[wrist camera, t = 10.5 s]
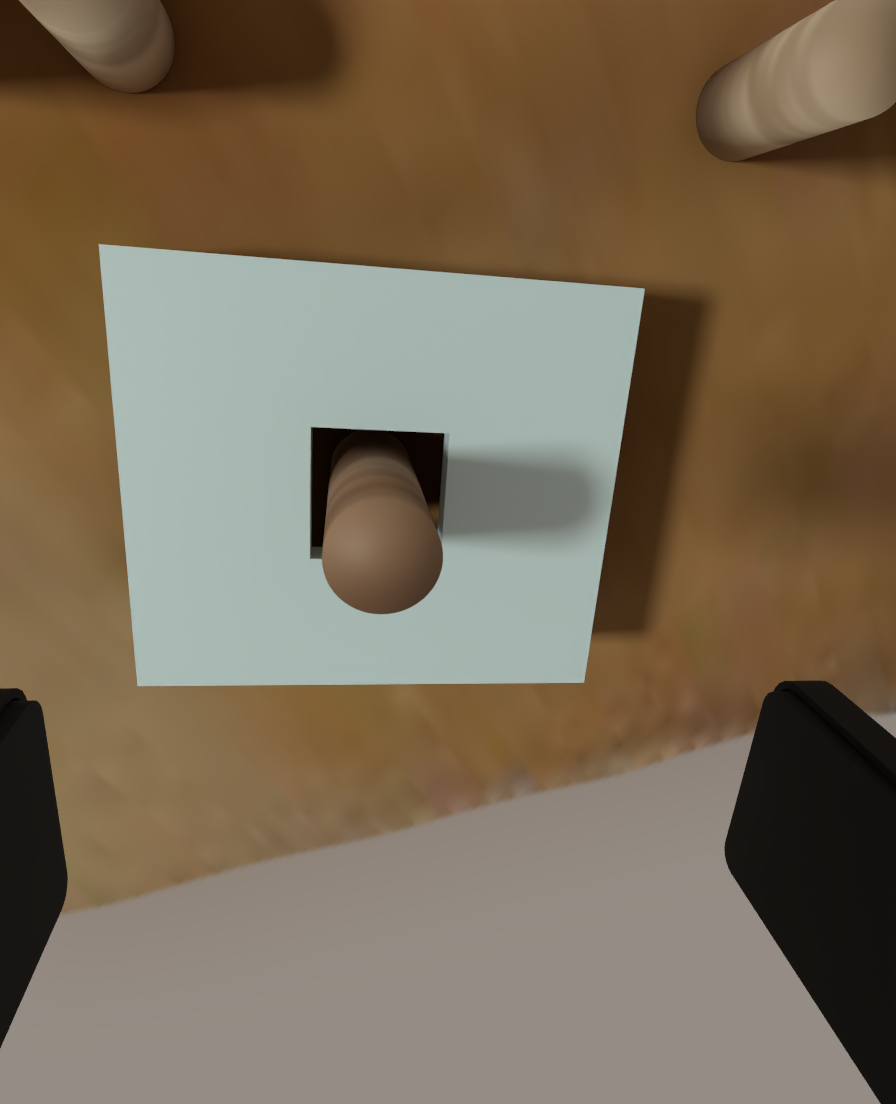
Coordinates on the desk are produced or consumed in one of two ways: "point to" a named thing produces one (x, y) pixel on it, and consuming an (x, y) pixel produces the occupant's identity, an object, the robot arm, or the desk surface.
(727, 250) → the desk surface
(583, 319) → the hole board
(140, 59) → the short pin
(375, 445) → the long pin
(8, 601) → the desk surface
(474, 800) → the desk surface
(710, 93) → the medium pin
